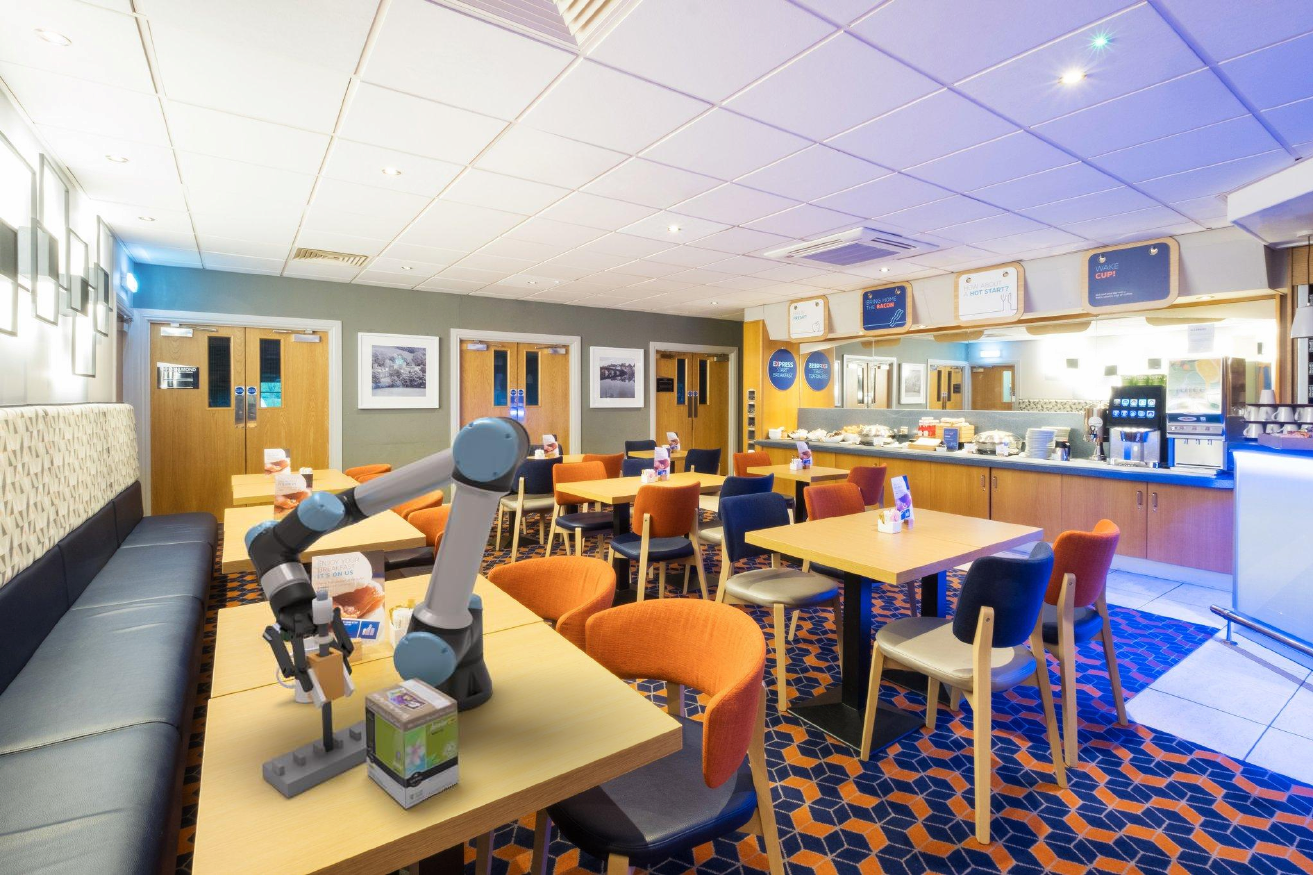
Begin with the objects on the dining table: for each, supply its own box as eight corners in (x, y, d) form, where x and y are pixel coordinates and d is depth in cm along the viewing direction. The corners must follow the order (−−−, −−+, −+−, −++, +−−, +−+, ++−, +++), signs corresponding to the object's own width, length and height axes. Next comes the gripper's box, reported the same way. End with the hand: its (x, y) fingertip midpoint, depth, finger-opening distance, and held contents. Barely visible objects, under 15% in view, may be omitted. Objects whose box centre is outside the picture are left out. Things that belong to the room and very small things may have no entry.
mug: (278, 711, 131) (275, 656, 130) (276, 695, 138) (273, 644, 137) (339, 696, 138) (337, 644, 137) (334, 682, 145) (332, 632, 144)
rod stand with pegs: (362, 732, 122) (357, 575, 120) (390, 749, 116) (384, 583, 115) (262, 777, 108) (254, 599, 106) (288, 798, 102) (279, 610, 100)
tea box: (461, 782, 106) (459, 699, 105) (404, 811, 98) (402, 722, 98) (419, 750, 116) (416, 674, 115) (365, 774, 108) (362, 693, 108)
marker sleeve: (332, 688, 114) (331, 647, 114) (344, 695, 112) (342, 652, 111) (307, 698, 111) (306, 655, 110) (319, 705, 108) (317, 661, 108)
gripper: (330, 591, 127) (376, 690, 118) (233, 616, 113) (277, 730, 104) (341, 570, 123) (390, 670, 114) (243, 592, 109) (289, 708, 100)
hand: (336, 698), depth 109 cm, fingers closed on marker sleeve, 4 cm apart
